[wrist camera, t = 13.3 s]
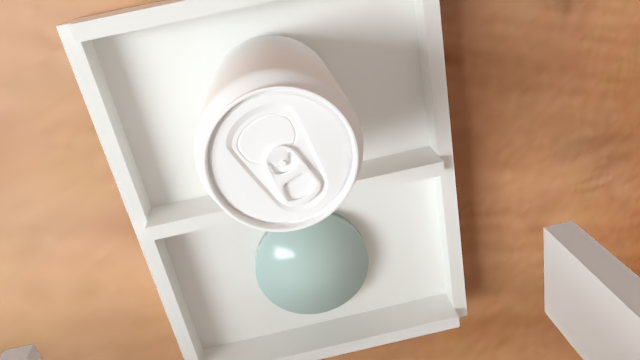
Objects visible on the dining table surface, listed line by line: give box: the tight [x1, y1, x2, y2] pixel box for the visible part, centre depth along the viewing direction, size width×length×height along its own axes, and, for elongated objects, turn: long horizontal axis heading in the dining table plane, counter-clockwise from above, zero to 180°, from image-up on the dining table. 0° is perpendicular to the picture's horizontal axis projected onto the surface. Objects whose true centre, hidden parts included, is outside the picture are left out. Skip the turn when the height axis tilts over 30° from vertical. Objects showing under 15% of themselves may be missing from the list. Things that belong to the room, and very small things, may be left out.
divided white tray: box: [56, 0, 467, 360], centre depth 37 cm, size 27×22×4 cm
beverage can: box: [194, 35, 364, 232], centre depth 30 cm, size 8×8×12 cm
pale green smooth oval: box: [255, 213, 369, 314], centre depth 40 cm, size 8×8×1 cm
